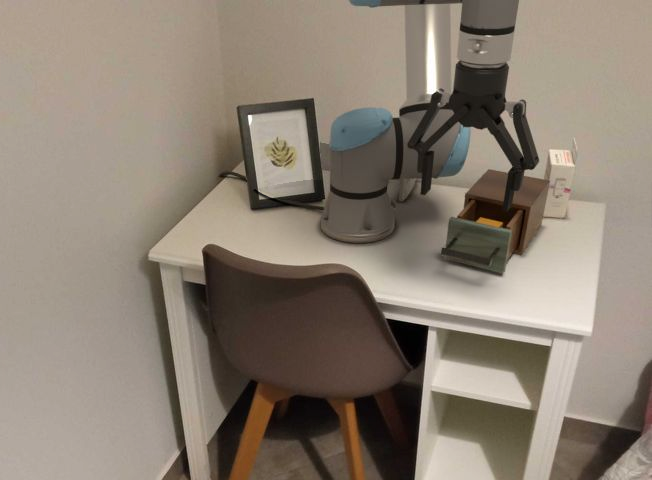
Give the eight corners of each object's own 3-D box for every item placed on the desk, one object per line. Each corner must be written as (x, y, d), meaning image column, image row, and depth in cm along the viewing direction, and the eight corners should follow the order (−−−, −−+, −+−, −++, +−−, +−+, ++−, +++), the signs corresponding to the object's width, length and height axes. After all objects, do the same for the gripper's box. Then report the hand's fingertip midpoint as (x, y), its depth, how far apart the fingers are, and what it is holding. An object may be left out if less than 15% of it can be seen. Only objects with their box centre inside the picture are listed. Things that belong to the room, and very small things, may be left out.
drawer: (492, 289, 125) (499, 247, 120) (431, 273, 130) (436, 232, 125) (523, 244, 138) (530, 205, 133) (467, 231, 142) (472, 193, 137)
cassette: (404, 202, 156) (407, 169, 151) (396, 201, 157) (398, 168, 152) (417, 181, 165) (419, 149, 160) (409, 180, 166) (411, 148, 161)
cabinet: (521, 255, 136) (530, 207, 130) (459, 240, 141) (465, 193, 135) (541, 226, 146) (550, 180, 140) (481, 214, 151) (488, 168, 145)
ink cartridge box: (538, 200, 156) (550, 134, 147) (561, 201, 155) (575, 135, 146) (540, 217, 149) (554, 149, 140) (565, 218, 148) (580, 150, 139)
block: (477, 240, 137) (480, 217, 134) (499, 246, 135) (503, 222, 132) (468, 250, 134) (471, 226, 131) (490, 256, 132) (494, 232, 129)
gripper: (391, 58, 103) (384, 193, 116) (565, 79, 93) (536, 225, 106) (411, 46, 109) (402, 177, 121) (578, 65, 98) (549, 206, 111)
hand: (465, 200), depth 114 cm, fingers open, 13 cm apart
